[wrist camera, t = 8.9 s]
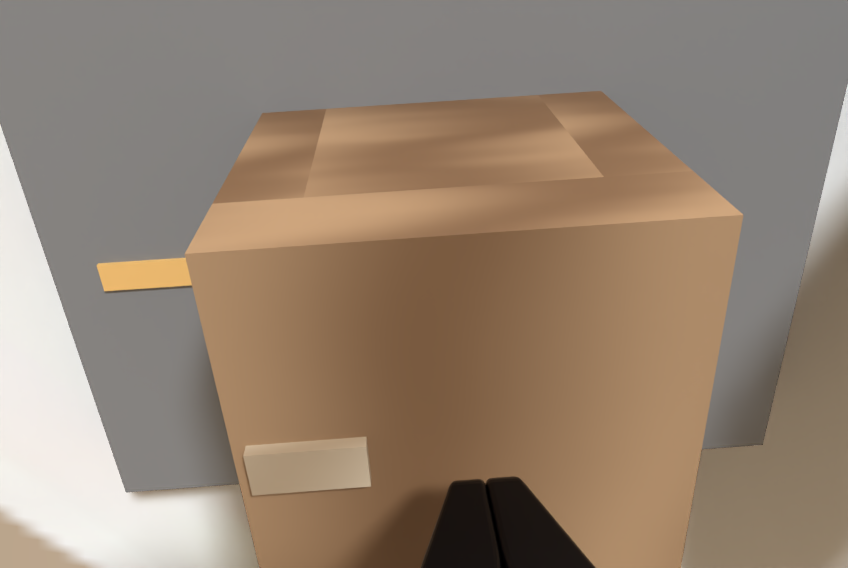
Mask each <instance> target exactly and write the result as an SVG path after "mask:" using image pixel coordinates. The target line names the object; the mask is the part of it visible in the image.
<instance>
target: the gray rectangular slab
mask: <svg viewBox="0 0 848 568" xmlns="http://www.w3.org/2000/svg"><path fill="white" fill-rule="evenodd" d="M847 84H848V0H0V124H1V127H2V130H3V133H4V136H5V139H6V142H7V145H8V148H9V151H10V153H11V156H12V159H13V162H14V165H15V168H16V171H17V174H18V177H19V180H20V183H21V186H22V189H23V192H24V195H25V197H26V200H27V203H28V206H29V209H30V212H31V215H32V218H33V221H34V224H35V227H36V230H37V233H38V236H39V239H40V241H41V244H42V247H43V250H44V253H45V256H46V259H47V262H48V265H49V268H50V271H51V274H52V277H53V280H54V283H55V285H56V288H57V291H58V294H59V297H60V300H61V303H62V306H63V309H64V312H65V315H66V318H67V321H68V324H69V327H70V330H71V332H72V335H73V338H74V341H75V344H76V347H77V350H78V353H79V356H80V359H81V362H82V365H83V368H84V371H85V374H86V376H87V379H88V382H89V385H90V388H91V391H92V394H93V397H94V400H95V403H96V406H97V409H98V412H99V415H100V418H101V420H102V423H103V426H104V429H105V432H106V435H107V438H108V441H109V444H110V447H111V450H112V453H113V456H114V459H115V462H116V464H117V467H118V470H119V473H120V476H121V479H122V482H123V485H124V488H125V491H126V492H138V491H152V490H165V489H178V488H192V487H205V486H218V485H232V484H239V480H238V476H237V472H236V467H235V463H234V459H233V455H232V451H231V447H230V442H229V438H228V434H227V430H226V426H225V421H224V417H223V413H222V409H221V405H220V400H219V396H218V392H217V388H216V384H215V380H214V375H213V371H212V367H211V363H210V359H209V354H208V350H207V346H206V342H205V338H204V333H203V329H202V325H201V321H200V317H199V313H198V308H197V304H196V300H195V296H194V292H193V287H192V283H191V279H190V275H189V271H188V266H187V262H186V258H185V252H186V250H187V249H188V247H189V245H190V243H191V241H192V239H193V238H194V236H195V234H196V232H197V230H198V229H199V227H200V225H201V223H202V221H203V220H204V218H205V216H206V214H207V212H208V211H209V209H210V207H211V205H212V203H213V201H214V200H215V198H216V196H217V194H218V192H219V191H220V189H221V187H222V185H223V183H224V182H225V180H226V178H227V176H228V174H229V172H230V171H231V169H232V167H233V165H234V163H235V162H236V160H237V158H238V156H239V154H240V153H241V151H242V149H243V147H244V145H245V144H246V142H247V140H248V138H249V136H250V134H251V133H252V131H253V129H254V127H255V125H256V124H257V122H258V120H259V118H260V116H261V115H262V113H271V112H286V111H301V110H316V109H331V108H347V107H362V106H377V105H392V104H408V103H423V102H438V101H453V100H468V99H484V98H499V97H514V96H529V95H545V94H560V93H575V92H590V91H602V92H603V93H604V94H605V95H607V96H608V97H609V98H610V99H611V100H612V101H613V102H615V103H616V104H617V105H618V106H619V107H620V108H621V109H623V110H624V111H625V112H626V113H627V114H628V115H629V116H631V117H632V118H633V119H634V120H635V121H636V122H637V123H639V124H640V125H641V126H642V127H643V128H644V129H646V130H647V131H648V132H649V133H650V134H651V135H652V136H654V137H655V138H656V139H657V140H658V141H659V142H660V143H662V144H663V145H664V146H665V147H666V148H667V149H668V150H670V151H671V152H672V153H673V154H674V155H675V156H677V157H678V158H679V159H680V160H681V161H682V162H683V163H685V164H686V165H687V166H688V167H689V168H690V169H691V170H693V171H694V172H695V173H696V174H697V175H698V176H699V177H701V178H702V179H703V180H704V181H705V182H706V183H708V184H709V185H710V186H711V187H712V188H713V189H714V190H716V191H717V192H718V193H719V194H720V195H721V196H722V197H724V198H725V199H726V200H727V201H728V202H729V203H730V204H732V205H733V206H734V207H735V208H736V209H737V210H738V211H740V212H741V213H742V214H743V220H742V226H741V232H740V237H739V243H738V248H737V254H736V260H735V265H734V271H733V277H732V282H731V288H730V293H729V299H728V305H727V310H726V316H725V321H724V327H723V333H722V338H721V344H720V349H719V355H718V361H717V366H716V372H715V377H714V383H713V389H712V394H711V400H710V405H709V411H708V417H707V422H706V428H705V434H704V439H703V445H702V449H712V448H726V447H739V446H752V445H763V441H764V436H765V432H766V428H767V424H768V419H769V415H770V411H771V407H772V402H773V398H774V394H775V390H776V385H777V381H778V377H779V373H780V368H781V364H782V360H783V356H784V351H785V347H786V343H787V339H788V334H789V330H790V326H791V322H792V317H793V313H794V309H795V305H796V300H797V296H798V292H799V288H800V283H801V279H802V275H803V271H804V266H805V262H806V258H807V254H808V249H809V245H810V241H811V237H812V232H813V228H814V224H815V220H816V215H817V211H818V207H819V203H820V198H821V194H822V190H823V186H824V181H825V177H826V173H827V169H828V164H829V160H830V156H831V152H832V147H833V143H834V139H835V135H836V130H837V126H838V122H839V118H840V113H841V109H842V105H843V101H844V96H845V92H846V88H847Z"/></svg>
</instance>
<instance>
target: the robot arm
mask: <svg viewBox="0 0 848 568" xmlns="http://www.w3.org/2000/svg"><path fill="white" fill-rule="evenodd" d="M420 568H596V567H595V566H594V565H593V564H592V563H591V561H590V560H589V559H588V558H587V557H586V555H585V554H584V553H583V552H582V551H581V550H580V548H579V547H578V546H577V545H576V544H575V542H574V541H573V540H572V539H571V538H570V536H569V535H568V534H567V533H566V532H565V530H564V529H563V528H562V527H561V526H560V525H559V523H558V522H557V521H556V520H555V519H554V517H553V516H552V515H551V514H550V513H549V511H548V510H547V509H546V508H545V507H544V505H543V504H542V503H541V502H540V501H539V499H538V498H537V497H536V496H535V495H534V494H533V492H532V491H531V490H530V489H529V488H528V486H527V485H526V484H525V483H524V482H523V481H522V480H521V479H520V478H519V477H516V476H511V477H497V478H489V479H488V480H487V481H486V483H485V482H484V481H483V480H481V479H470V480H457V481H453V482H452V483H451V484H450V486H449V488H448V491H447V494H446V496H445V499H444V502H443V505H442V508H441V511H440V513H439V516H438V519H437V522H436V525H435V527H434V530H433V533H432V536H431V539H430V541H429V544H428V547H427V550H426V553H425V555H424V558H423V561H422V564H421V567H420Z"/></svg>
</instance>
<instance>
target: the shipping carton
mask: <svg viewBox="0 0 848 568" xmlns="http://www.w3.org/2000/svg"><path fill="white" fill-rule="evenodd" d="M742 220H743V214H742V213H741V212H740V211H738V210H737V209H736V208H735V207H734V206H733V205H732V204H730V203H729V202H728V201H727V200H726V199H725V198H724V197H722V196H721V195H720V194H719V193H718V192H717V191H716V190H714V189H713V188H712V187H711V186H710V185H709V184H708V183H706V182H705V181H704V180H703V179H702V178H701V177H699V176H698V175H697V174H696V173H695V172H694V171H693V170H691V169H690V168H689V167H688V166H687V165H686V164H685V163H683V162H682V161H681V160H680V159H679V158H678V157H677V156H675V155H674V154H673V153H672V152H671V151H670V150H668V149H667V148H666V147H665V146H664V145H663V144H662V143H660V142H659V141H658V140H657V139H656V138H655V137H654V136H652V135H651V134H650V133H649V132H648V131H647V130H646V129H644V128H643V127H642V126H641V125H640V124H639V123H637V122H636V121H635V120H634V119H633V118H632V117H631V116H629V115H628V114H627V113H626V112H625V111H624V110H623V109H621V108H620V107H619V106H618V105H617V104H616V103H615V102H613V101H612V100H611V99H610V98H609V97H608V96H607V95H605V94H604V93H603V92H602V91H590V92H575V93H560V94H545V95H529V96H514V97H499V98H484V99H468V100H453V101H438V102H423V103H408V104H392V105H377V106H362V107H347V108H331V109H316V110H301V111H286V112H271V113H262V115H261V116H260V118H259V120H258V122H257V124H256V125H255V127H254V129H253V131H252V133H251V134H250V136H249V138H248V140H247V142H246V144H245V145H244V147H243V149H242V151H241V153H240V154H239V156H238V158H237V160H236V162H235V163H234V165H233V167H232V169H231V171H230V172H229V174H228V176H227V178H226V180H225V182H224V183H223V185H222V187H221V189H220V191H219V192H218V194H217V196H216V198H215V200H214V201H213V203H212V205H211V207H210V209H209V211H208V212H207V214H206V216H205V218H204V220H203V221H202V223H201V225H200V227H199V229H198V230H197V232H196V234H195V236H194V238H193V239H192V241H191V243H190V245H189V247H188V249H187V250H186V252H185V258H186V262H187V266H188V271H189V275H190V279H191V283H192V287H193V292H194V296H195V300H196V304H197V308H198V313H199V317H200V321H201V325H202V329H203V333H204V338H205V342H206V346H207V350H208V354H209V359H210V363H211V367H212V371H213V375H214V380H215V384H216V388H217V392H218V396H219V400H220V405H221V409H222V413H223V417H224V421H225V426H226V430H227V434H228V438H229V442H230V447H231V451H232V455H233V459H234V463H235V467H236V472H237V476H238V480H239V484H240V488H241V493H242V497H243V501H244V505H245V509H246V514H247V518H248V522H249V526H250V530H251V534H252V539H253V543H254V547H255V551H256V555H257V560H258V564H259V568H420V567H421V564H422V561H423V558H424V555H425V553H426V550H427V547H428V544H429V541H430V539H431V536H432V533H433V530H434V527H435V525H436V522H437V519H438V516H439V513H440V511H441V508H442V505H443V502H444V499H445V496H446V494H447V491H448V488H449V486H450V484H451V483H452V482H453V481H457V480H470V479H481V480H483V481H484V482H485V483H486V481H487V480H488V479H489V478H497V477H511V476H516V477H519V478H520V479H521V480H522V481H523V482H524V483H525V484H526V485H527V486H528V488H529V489H530V490H531V491H532V492H533V494H534V495H535V496H536V497H537V498H538V499H539V501H540V502H541V503H542V504H543V505H544V507H545V508H546V509H547V510H548V511H549V513H550V514H551V515H552V516H553V517H554V519H555V520H556V521H557V522H558V523H559V525H560V526H561V527H562V528H563V529H564V530H565V532H566V533H567V534H568V535H569V536H570V538H571V539H572V540H573V541H574V542H575V544H576V545H577V546H578V547H579V548H580V550H581V551H582V552H583V553H584V554H585V555H586V557H587V558H588V559H589V560H590V561H591V563H592V564H593V565H594V566H595V567H596V568H681V562H682V557H683V551H684V546H685V540H686V534H687V529H688V523H689V518H690V512H691V506H692V501H693V495H694V490H695V484H696V478H697V473H698V467H699V462H700V456H701V450H702V445H703V439H704V434H705V428H706V422H707V417H708V411H709V405H710V400H711V394H712V389H713V383H714V377H715V372H716V366H717V361H718V355H719V349H720V344H721V338H722V333H723V327H724V321H725V316H726V310H727V305H728V299H729V293H730V288H731V282H732V277H733V271H734V265H735V260H736V254H737V248H738V243H739V237H740V232H741V226H742Z"/></svg>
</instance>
